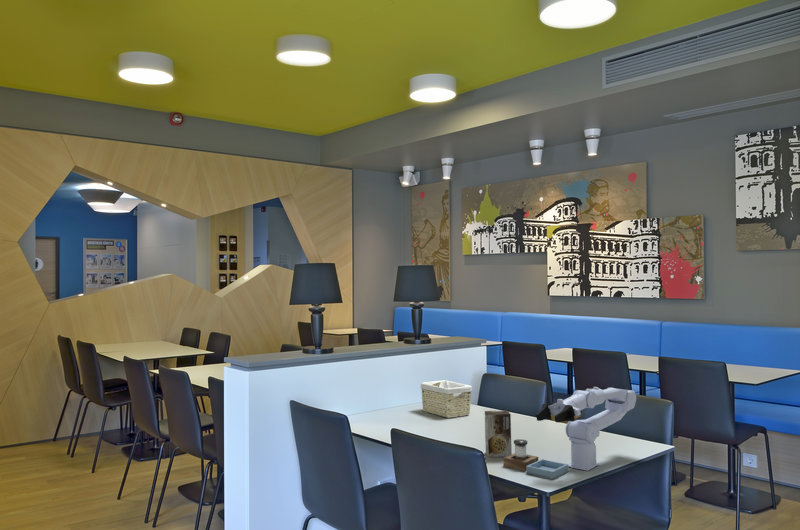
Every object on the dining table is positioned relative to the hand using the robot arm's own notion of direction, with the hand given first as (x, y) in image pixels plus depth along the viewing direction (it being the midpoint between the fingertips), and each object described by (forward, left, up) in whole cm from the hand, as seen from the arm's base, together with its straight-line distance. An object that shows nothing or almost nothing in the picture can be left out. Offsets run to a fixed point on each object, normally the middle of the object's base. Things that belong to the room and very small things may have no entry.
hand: (546, 418), depth 209 cm
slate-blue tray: (-6, -3, -20) cm, 21 cm away
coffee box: (-14, -28, -20) cm, 37 cm away
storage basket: (-60, -88, -20) cm, 109 cm away
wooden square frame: (-7, -14, -20) cm, 26 cm away
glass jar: (-7, -14, -20) cm, 26 cm away
